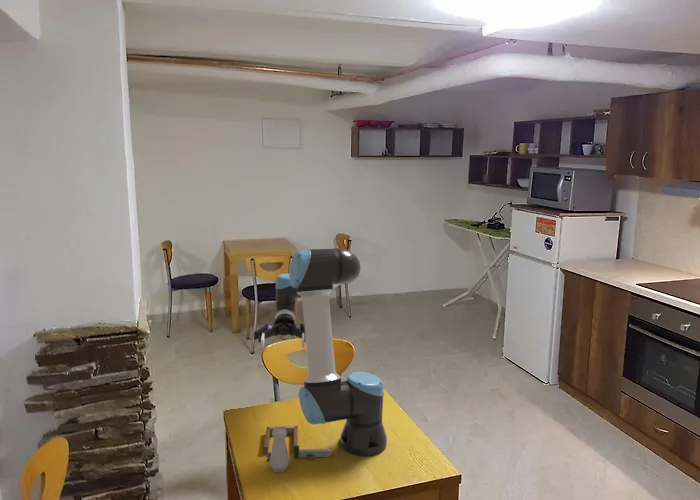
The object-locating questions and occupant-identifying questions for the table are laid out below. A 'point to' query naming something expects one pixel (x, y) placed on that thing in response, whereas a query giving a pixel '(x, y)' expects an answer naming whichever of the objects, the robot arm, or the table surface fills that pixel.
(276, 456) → the salt shaker
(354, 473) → the table surface
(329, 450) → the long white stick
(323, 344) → the robot arm
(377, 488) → the table surface
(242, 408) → the table surface
